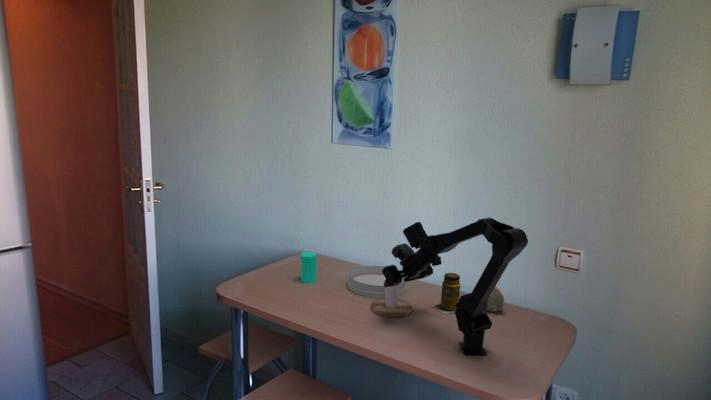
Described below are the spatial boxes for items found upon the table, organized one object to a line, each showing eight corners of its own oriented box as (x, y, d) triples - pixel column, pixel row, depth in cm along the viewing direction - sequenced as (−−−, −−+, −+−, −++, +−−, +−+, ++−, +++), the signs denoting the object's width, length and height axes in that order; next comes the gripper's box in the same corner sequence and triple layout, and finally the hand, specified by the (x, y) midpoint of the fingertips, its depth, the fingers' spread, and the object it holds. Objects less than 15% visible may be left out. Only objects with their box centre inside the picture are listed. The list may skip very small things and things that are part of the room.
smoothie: (378, 304, 169) (380, 264, 167) (393, 300, 173) (396, 262, 170) (388, 311, 164) (391, 270, 161) (404, 307, 167) (407, 268, 164)
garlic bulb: (500, 320, 169) (510, 298, 164) (476, 314, 169) (485, 292, 165) (497, 301, 177) (506, 280, 173) (474, 296, 178) (482, 274, 173)
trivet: (415, 318, 162) (415, 314, 162) (372, 317, 161) (373, 314, 161) (408, 301, 176) (408, 298, 176) (368, 300, 175) (368, 297, 175)
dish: (393, 304, 174) (394, 290, 173) (337, 291, 183) (338, 278, 182) (414, 284, 193) (415, 272, 192) (363, 273, 203) (363, 262, 202)
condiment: (463, 310, 171) (466, 276, 168) (445, 314, 166) (448, 280, 164) (448, 302, 176) (451, 270, 174) (430, 307, 172) (433, 273, 169)
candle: (298, 278, 193) (299, 248, 191) (313, 276, 196) (313, 247, 193) (303, 283, 188) (304, 253, 186) (318, 282, 190) (319, 251, 188)
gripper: (429, 234, 165) (403, 257, 175) (387, 242, 153) (362, 267, 164) (445, 263, 160) (418, 285, 171) (404, 274, 149) (377, 297, 159)
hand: (394, 283), depth 166 cm, fingers open, 9 cm apart
